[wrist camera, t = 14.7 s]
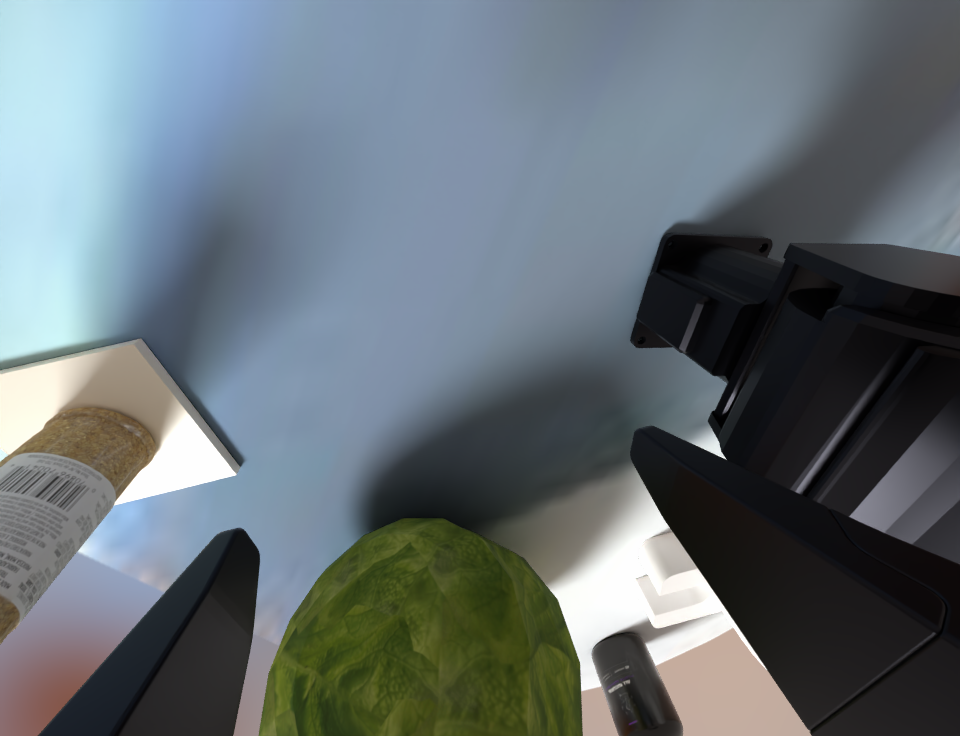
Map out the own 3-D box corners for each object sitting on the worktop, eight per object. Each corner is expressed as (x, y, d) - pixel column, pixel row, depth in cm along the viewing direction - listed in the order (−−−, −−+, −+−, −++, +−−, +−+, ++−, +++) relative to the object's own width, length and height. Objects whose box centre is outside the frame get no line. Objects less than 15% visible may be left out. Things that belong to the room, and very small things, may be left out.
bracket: (824, 490, 36) (977, 616, 26) (792, 548, 41) (909, 671, 32) (639, 537, 35) (729, 688, 25) (631, 591, 40) (703, 732, 30)
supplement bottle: (598, 634, 44) (655, 782, 34) (648, 627, 45) (718, 767, 35) (583, 661, 47) (631, 802, 37) (630, 653, 49) (689, 787, 38)
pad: (141, 338, 17) (133, 344, 17) (240, 467, 22) (236, 474, 22) (-58, 383, 17) (-72, 390, 16) (88, 504, 22) (80, 513, 21)
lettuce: (400, 645, 38) (459, 923, 25) (205, 584, 22) (99, 1234, 9) (540, 549, 39) (666, 765, 26) (448, 428, 24) (647, 812, 11)
